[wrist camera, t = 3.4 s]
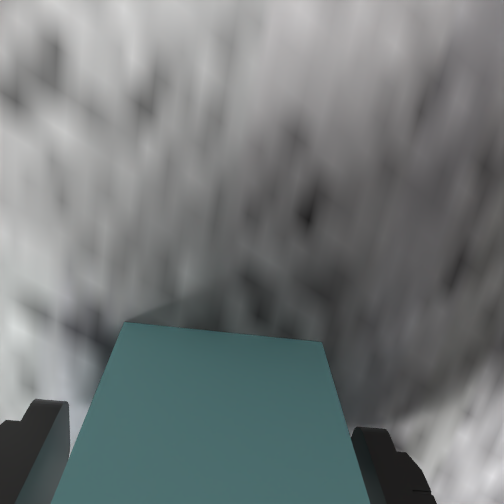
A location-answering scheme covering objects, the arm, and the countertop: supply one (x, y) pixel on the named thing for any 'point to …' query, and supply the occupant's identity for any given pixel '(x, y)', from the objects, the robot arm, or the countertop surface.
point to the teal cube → (213, 424)
